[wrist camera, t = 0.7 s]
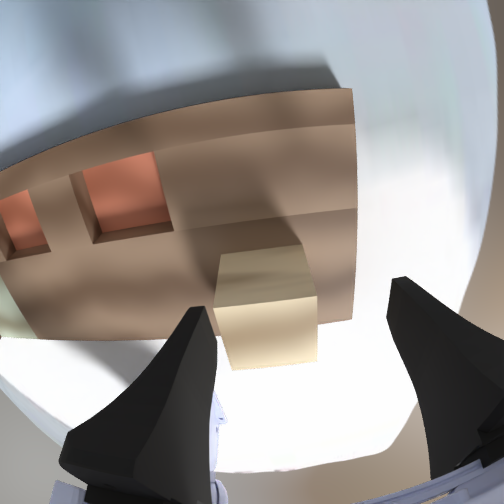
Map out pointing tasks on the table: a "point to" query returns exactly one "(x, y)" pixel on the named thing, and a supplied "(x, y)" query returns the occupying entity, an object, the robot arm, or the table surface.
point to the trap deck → (177, 214)
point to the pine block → (266, 308)
